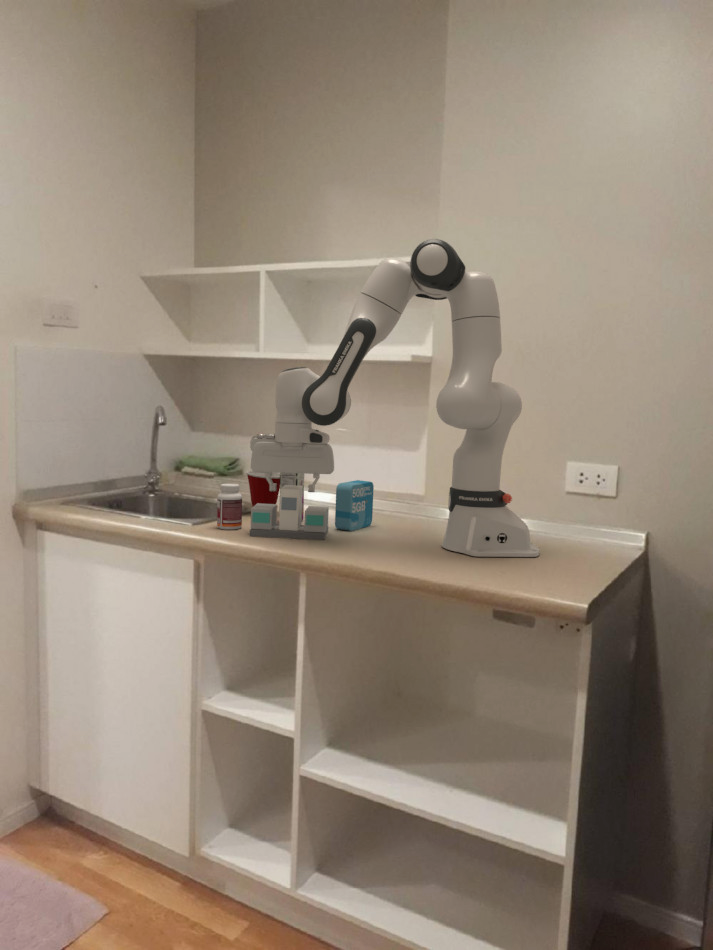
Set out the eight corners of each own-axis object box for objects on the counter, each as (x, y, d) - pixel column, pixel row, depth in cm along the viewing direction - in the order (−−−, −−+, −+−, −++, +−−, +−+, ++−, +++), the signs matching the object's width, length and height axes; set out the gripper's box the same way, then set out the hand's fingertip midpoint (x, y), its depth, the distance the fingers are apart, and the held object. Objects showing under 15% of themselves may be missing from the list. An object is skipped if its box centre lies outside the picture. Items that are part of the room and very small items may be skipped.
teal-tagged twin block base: (328, 532, 188) (329, 506, 187) (324, 539, 178) (325, 512, 177) (257, 528, 189) (258, 502, 188) (249, 536, 179) (250, 509, 178)
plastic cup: (273, 519, 203) (274, 475, 201) (238, 515, 206) (239, 472, 205) (289, 513, 213) (291, 471, 211) (255, 509, 216) (257, 468, 215)
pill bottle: (246, 527, 189) (247, 484, 188) (231, 531, 184) (232, 487, 182) (227, 524, 192) (228, 482, 191) (211, 528, 187) (212, 484, 185)
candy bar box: (285, 518, 205) (287, 459, 203) (303, 519, 204) (305, 459, 202) (277, 525, 194) (279, 462, 192) (296, 526, 193) (298, 463, 191)
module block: (301, 525, 186) (302, 486, 185) (297, 530, 179) (298, 489, 178) (283, 524, 187) (284, 485, 185) (278, 530, 179) (280, 489, 178)
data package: (349, 532, 189) (351, 485, 188) (334, 529, 191) (336, 483, 190) (372, 525, 199) (374, 481, 198) (357, 523, 202) (359, 479, 200)
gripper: (248, 434, 177) (247, 491, 179) (333, 436, 176) (332, 494, 178) (252, 433, 184) (252, 488, 185) (335, 435, 183) (334, 491, 184)
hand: (292, 491), depth 181 cm, fingers open, 8 cm apart
